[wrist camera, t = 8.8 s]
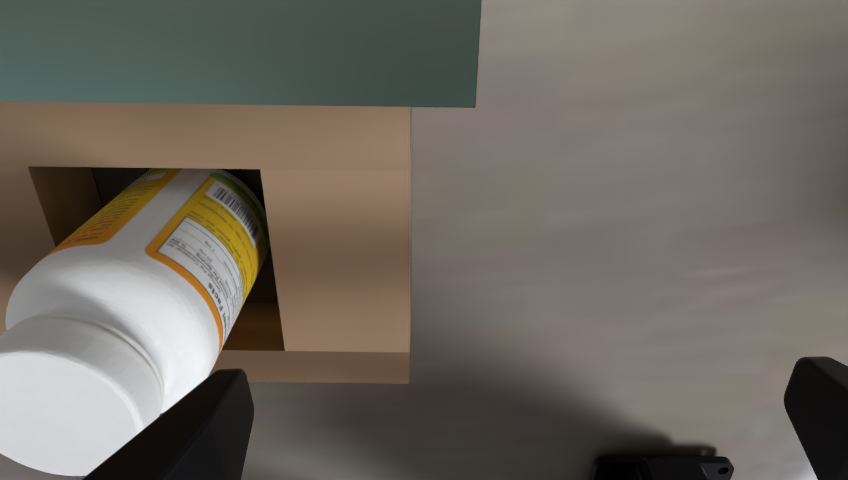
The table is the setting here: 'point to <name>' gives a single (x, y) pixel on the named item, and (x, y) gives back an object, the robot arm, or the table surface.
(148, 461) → the robot arm
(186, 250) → the supplement bottle
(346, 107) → the socket plate
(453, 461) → the table surface
